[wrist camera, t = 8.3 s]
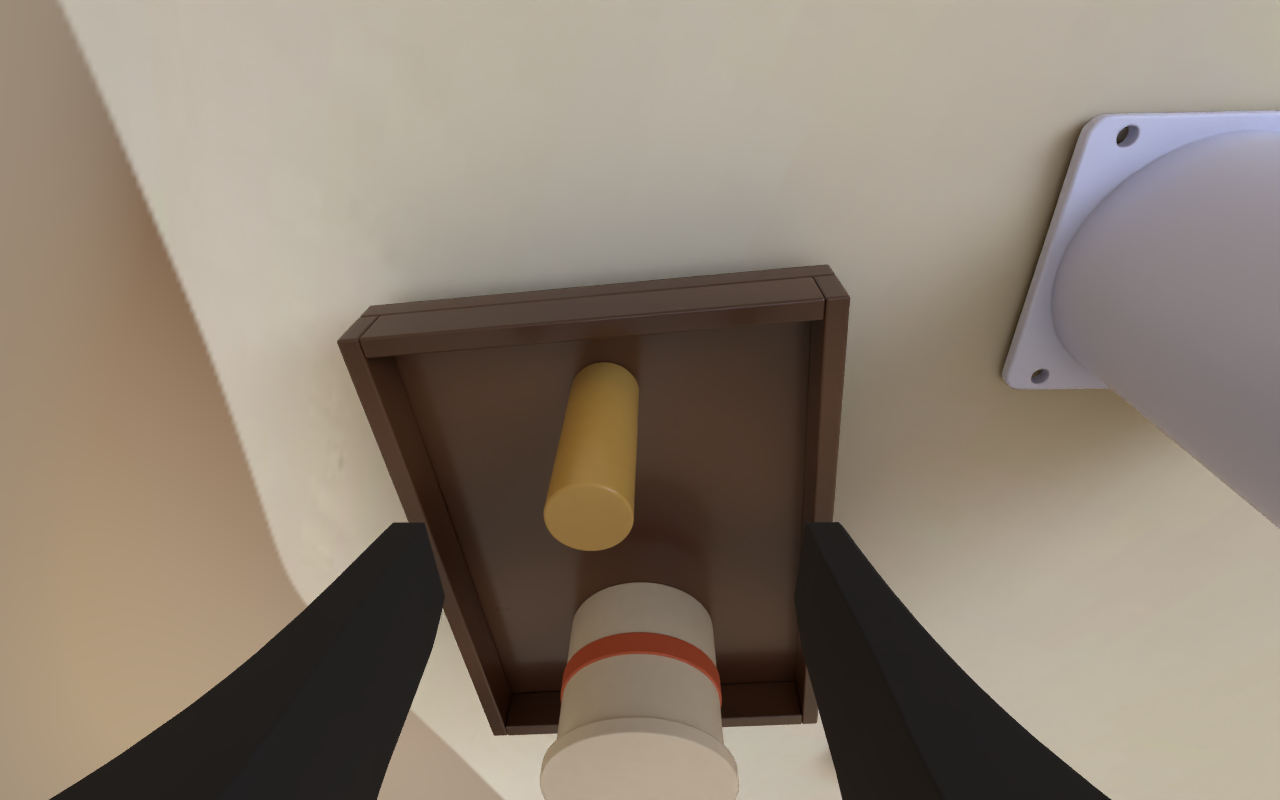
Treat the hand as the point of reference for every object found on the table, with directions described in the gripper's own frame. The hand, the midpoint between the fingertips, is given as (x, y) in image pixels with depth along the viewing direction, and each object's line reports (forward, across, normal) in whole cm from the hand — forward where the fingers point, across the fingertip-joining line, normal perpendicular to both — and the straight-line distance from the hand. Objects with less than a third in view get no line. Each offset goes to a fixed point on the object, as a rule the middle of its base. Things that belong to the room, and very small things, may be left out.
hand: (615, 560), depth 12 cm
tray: (+8, 0, +6) cm, 10 cm away
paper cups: (+7, 0, +11) cm, 13 cm away
